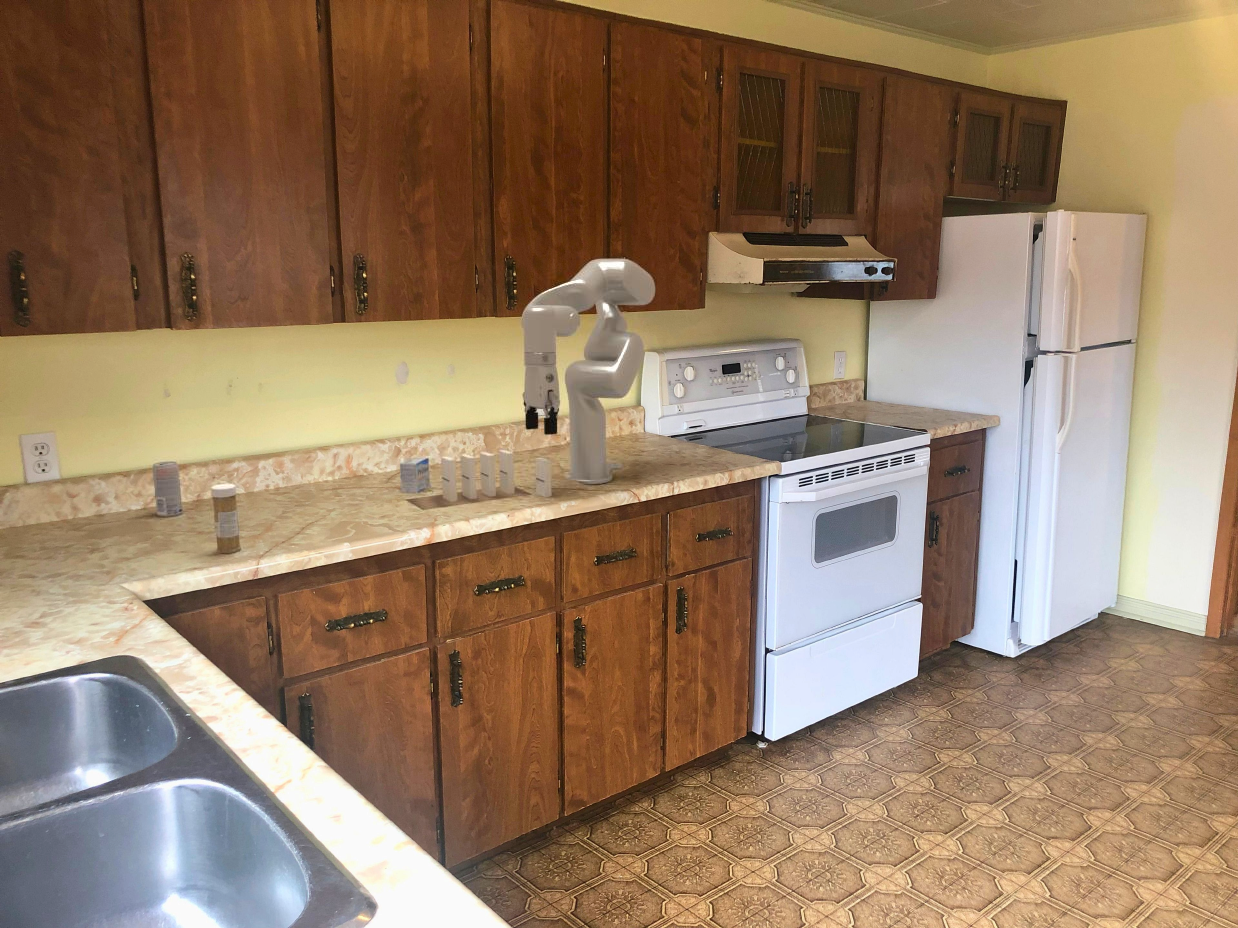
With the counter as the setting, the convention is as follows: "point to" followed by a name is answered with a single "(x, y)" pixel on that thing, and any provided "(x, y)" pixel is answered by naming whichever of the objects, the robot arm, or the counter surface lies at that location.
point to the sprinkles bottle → (226, 518)
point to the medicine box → (415, 475)
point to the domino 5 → (543, 477)
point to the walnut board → (462, 499)
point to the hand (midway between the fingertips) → (541, 431)
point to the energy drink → (167, 489)
